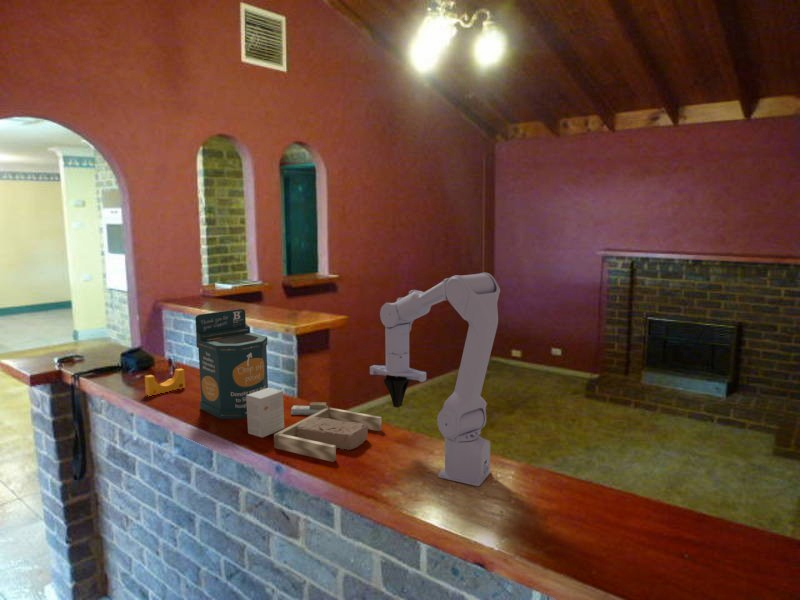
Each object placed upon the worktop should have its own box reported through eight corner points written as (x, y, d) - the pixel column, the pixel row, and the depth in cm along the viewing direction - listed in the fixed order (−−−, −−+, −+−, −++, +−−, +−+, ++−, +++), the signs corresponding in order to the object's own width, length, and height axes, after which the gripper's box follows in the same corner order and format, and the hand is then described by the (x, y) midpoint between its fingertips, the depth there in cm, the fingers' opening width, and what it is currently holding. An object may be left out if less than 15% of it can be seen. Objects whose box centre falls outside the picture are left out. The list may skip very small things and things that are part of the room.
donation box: (248, 396, 179) (244, 308, 175) (278, 408, 168) (274, 314, 164) (200, 409, 168) (194, 315, 164) (228, 422, 157) (223, 322, 153)
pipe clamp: (179, 386, 191) (177, 367, 190) (185, 388, 188) (184, 369, 187) (143, 394, 182) (142, 375, 181) (149, 397, 179) (148, 377, 178)
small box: (270, 424, 155) (268, 386, 154) (285, 428, 152) (283, 390, 151) (247, 433, 149) (245, 394, 147) (262, 438, 146) (260, 398, 144)
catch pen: (381, 429, 151) (381, 417, 150) (332, 462, 131) (332, 447, 131) (327, 419, 159) (327, 407, 158) (274, 448, 139) (273, 434, 139)
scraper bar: (327, 412, 165) (327, 402, 165) (326, 416, 162) (325, 405, 162) (293, 412, 166) (293, 401, 165) (291, 415, 163) (290, 405, 162)
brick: (295, 442, 144) (294, 424, 143) (313, 430, 151) (313, 413, 151) (352, 453, 137) (352, 435, 136) (368, 441, 145) (368, 423, 144)
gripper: (431, 351, 138) (431, 405, 140) (379, 345, 145) (380, 397, 147) (418, 357, 132) (418, 414, 134) (365, 351, 138) (365, 405, 140)
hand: (397, 406), depth 140 cm, fingers closed
